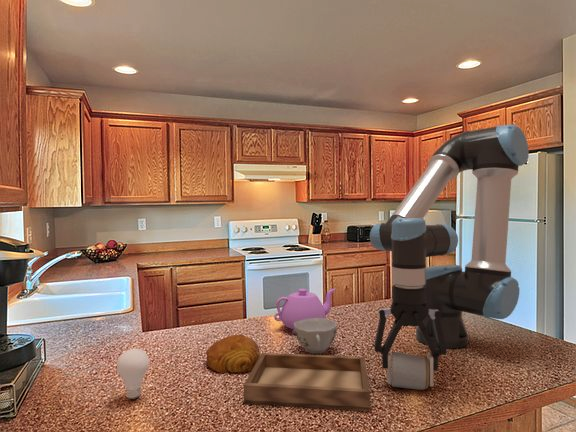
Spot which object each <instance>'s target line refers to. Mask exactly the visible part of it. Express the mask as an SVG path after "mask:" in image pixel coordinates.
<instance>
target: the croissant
mask: <svg viewBox="0 0 576 432" xmlns="http://www.w3.org/2000/svg"><path fill="white" fill-rule="evenodd" d="M205 354H206V362H207V366H209V368H210V369H211V370H213V371H216V372H218V373H220V374H221V373H223V374H227V373H229V372H230V373H233V374H234V373H244V372H245V373H246V372H251V371H252V369H253V368H254V366H255V364H256V362H257V361H258V359H259V357H260V355H261V353H260V348H259V346H258V344H257V343H256V341H255V340H254V339H252V338H251V337H248V336H246V335H244V334H241V333H240V334H233V335H229V336H226V337H223V338H221V339H219V340H218V341H215V342H214V343H212V344H211V345H210V346H209V347H208V348H207V350H206V351H205Z"/></svg>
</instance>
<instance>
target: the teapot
mask: <svg viewBox="0 0 576 432" xmlns="http://www.w3.org/2000/svg"><path fill="white" fill-rule="evenodd" d="M336 289H337V288H336V287H334V288H331V289H329V290H328V291H327V292H326V296H325V301H324V303H322V302H321V300H320V298H319V297H318V295H317V294H316V293H314V292H309V291H308V289H306V288H299V289H297V291H298V292H292V293H290V294H289V295H288V296H281V297H279V298H278V299H277V300H276V303H275V305H276V310H277V313H275V314H274V317H273V319H274V320H275V321H276V322H282V324H283V325H284V326H285V327H286V328H289V329H291V334H293V335H296V334H295V329H294V323H295V322H297V321H301V320H304V319H309V318H323V319H324V318H327V317H326V316H327V315H329V313H330V312H331V308H332V296H333V293H334V292H335V291H336ZM281 301H284V303H283V305H282V307H280V302H281ZM277 316H278V317H277Z"/></svg>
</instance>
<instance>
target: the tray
mask: <svg viewBox="0 0 576 432" xmlns="http://www.w3.org/2000/svg"><path fill="white" fill-rule="evenodd" d="M368 377H369V376H368V370H367V364H366V356H349V355H348V356H346V355H345V356H344V355H326V354H325V355H323V354H322V355H321V354H301V353H300V354H299V353H298V354H296V353H278V352H277V353H275V352H274V353H271V352H270V353H269V352H261V353H260V357H259V359H258V361H257V362H256V364H255V366H254V368H253V369H252V370H250V373H249V375H248V377H247V378H246V379H245V382H244V384H243V404H244V405H260V406H275V407H291V408H292V407H295V408H308V409H309V408H310V409H322V410H323V409H324V410H325V409H326V410H338V411H339V410H343V411H358V412H359V411H360V412H370V411H371V399H370V398H371V394H370V391H371V390H370V385H369V379H368Z"/></svg>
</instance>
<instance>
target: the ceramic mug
mask: <svg viewBox="0 0 576 432" xmlns="http://www.w3.org/2000/svg"><path fill="white" fill-rule="evenodd" d="M391 363H392V382H391V384H390V385H391V387H393V388H403V389H411V390H417V391H418V390H422V391H423V390H427V389H428V387H429V386H430V385H429V362H428V359H427V357H424V356H422V355H418V354H410V353H405V352H404V353H403V352H399V351H392V356H391Z"/></svg>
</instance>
